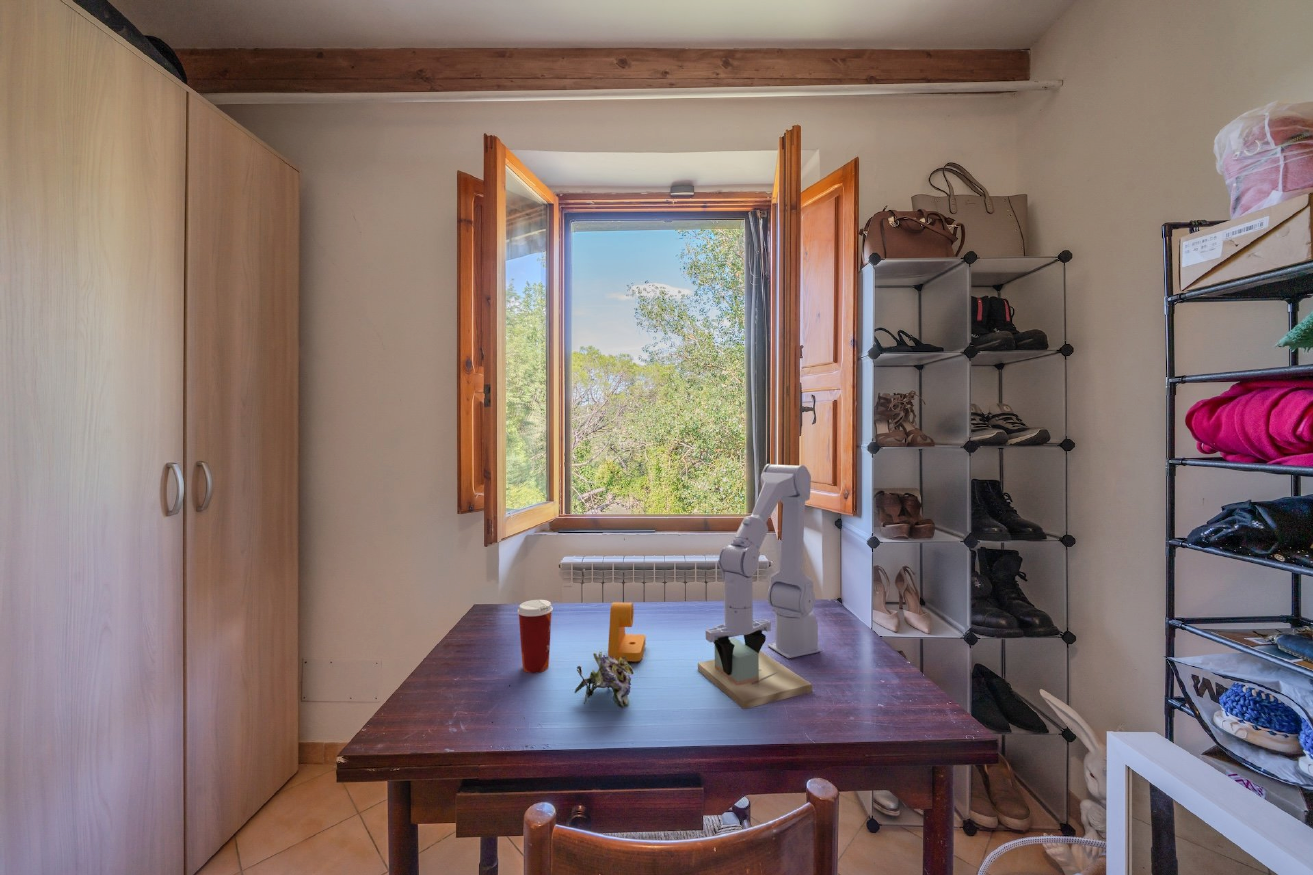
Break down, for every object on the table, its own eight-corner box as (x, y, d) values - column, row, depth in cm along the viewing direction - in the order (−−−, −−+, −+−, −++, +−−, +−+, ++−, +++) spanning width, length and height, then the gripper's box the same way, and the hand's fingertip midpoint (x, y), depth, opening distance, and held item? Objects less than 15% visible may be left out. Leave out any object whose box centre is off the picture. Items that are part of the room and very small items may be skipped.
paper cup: (560, 666, 117) (559, 603, 116) (530, 678, 111) (530, 612, 111) (539, 656, 122) (539, 596, 122) (510, 667, 116) (510, 604, 116)
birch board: (759, 656, 121) (759, 650, 121) (812, 691, 105) (812, 684, 105) (697, 669, 115) (697, 662, 115) (743, 709, 98) (743, 701, 98)
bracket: (640, 665, 117) (639, 611, 117) (608, 663, 118) (607, 610, 118) (646, 645, 128) (645, 596, 128) (616, 644, 129) (616, 595, 129)
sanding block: (734, 662, 114) (734, 637, 114) (758, 680, 106) (758, 653, 106) (714, 666, 112) (714, 641, 112) (737, 685, 104) (737, 657, 104)
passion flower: (624, 732, 100) (635, 699, 93) (567, 725, 99) (574, 691, 92) (627, 677, 109) (638, 643, 103) (575, 670, 108) (583, 635, 102)
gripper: (757, 594, 115) (757, 656, 115) (698, 603, 109) (698, 668, 109) (776, 603, 108) (777, 669, 108) (715, 614, 102) (715, 683, 103)
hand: (739, 670), depth 108 cm, fingers closed on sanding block, 5 cm apart
